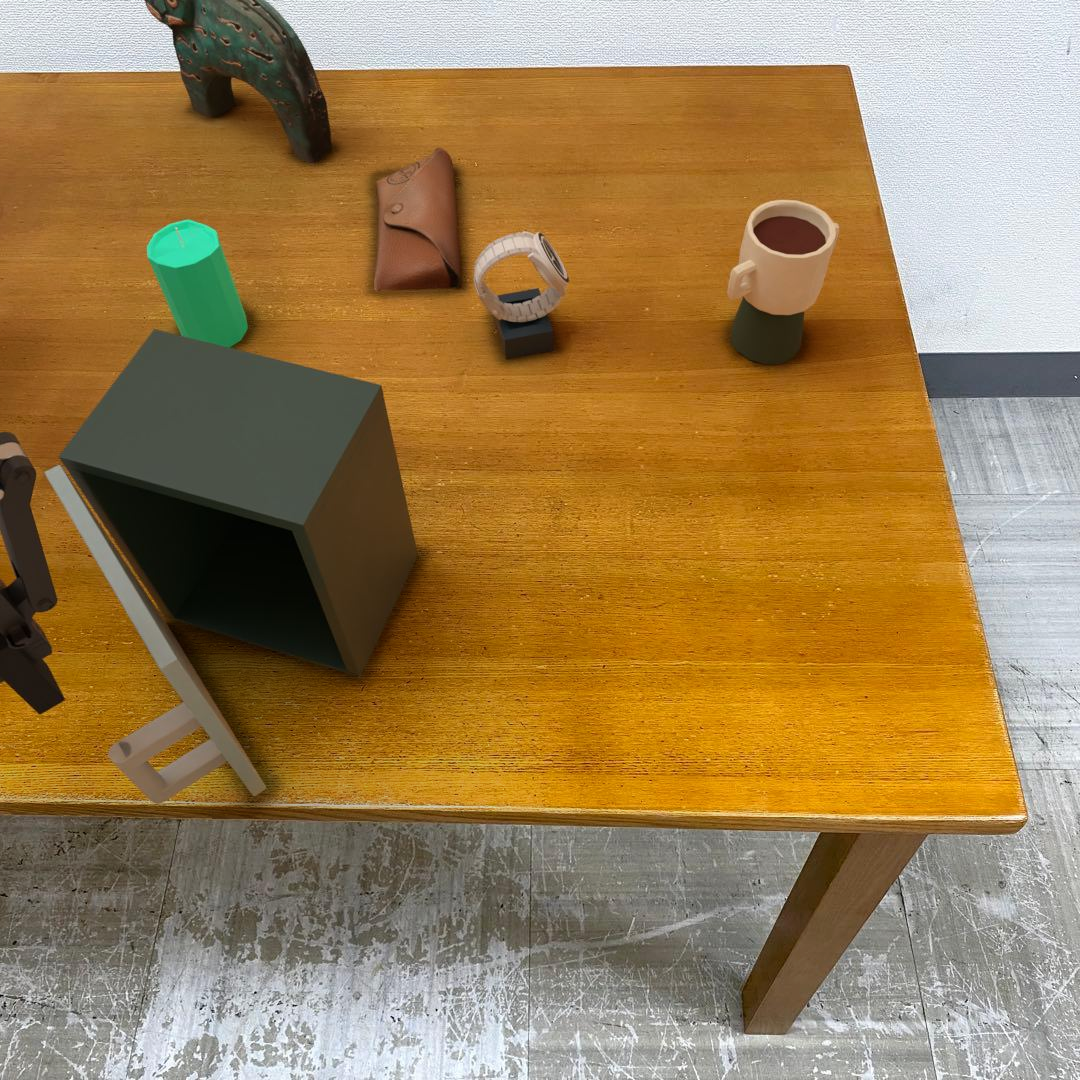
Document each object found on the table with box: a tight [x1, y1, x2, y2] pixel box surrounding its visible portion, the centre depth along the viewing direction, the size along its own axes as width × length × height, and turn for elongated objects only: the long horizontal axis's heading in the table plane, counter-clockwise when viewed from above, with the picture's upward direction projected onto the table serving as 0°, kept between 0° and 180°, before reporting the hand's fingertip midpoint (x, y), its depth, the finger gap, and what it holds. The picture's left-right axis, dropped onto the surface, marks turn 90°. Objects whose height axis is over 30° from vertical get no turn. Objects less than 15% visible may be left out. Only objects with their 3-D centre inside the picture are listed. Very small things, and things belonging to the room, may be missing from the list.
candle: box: [146, 218, 249, 348], centre depth 88 cm, size 6×6×12 cm
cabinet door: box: [44, 464, 267, 805], centre depth 63 cm, size 6×16×20 cm, turn 37°
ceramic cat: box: [144, 0, 333, 164], centre depth 102 cm, size 20×6×20 cm, turn 54°
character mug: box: [726, 199, 840, 366], centre depth 86 cm, size 11×7×13 cm, turn 121°
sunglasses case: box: [373, 147, 462, 292], centre depth 99 cm, size 18×7×7 cm
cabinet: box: [58, 329, 419, 678], centre depth 69 cm, size 11×16×20 cm
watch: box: [472, 230, 570, 360], centre depth 87 cm, size 6×8×11 cm
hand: (43, 689), depth 56 cm, fingers closed
